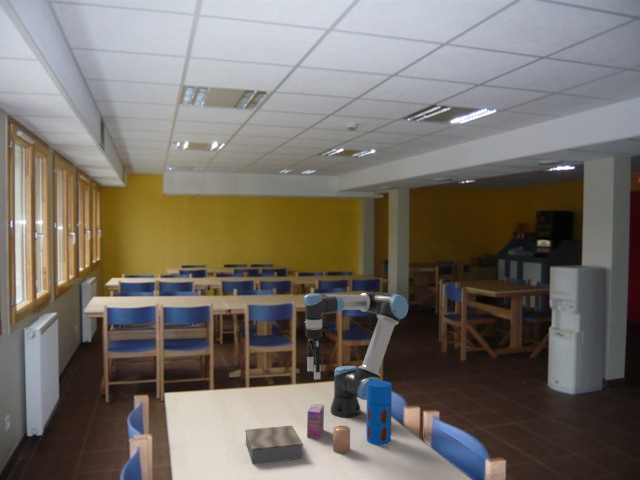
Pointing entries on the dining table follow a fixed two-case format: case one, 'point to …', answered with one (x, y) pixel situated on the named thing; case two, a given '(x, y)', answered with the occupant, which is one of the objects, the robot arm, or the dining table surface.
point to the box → (315, 421)
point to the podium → (273, 444)
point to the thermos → (379, 412)
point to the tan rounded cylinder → (341, 439)
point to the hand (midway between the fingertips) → (313, 375)
